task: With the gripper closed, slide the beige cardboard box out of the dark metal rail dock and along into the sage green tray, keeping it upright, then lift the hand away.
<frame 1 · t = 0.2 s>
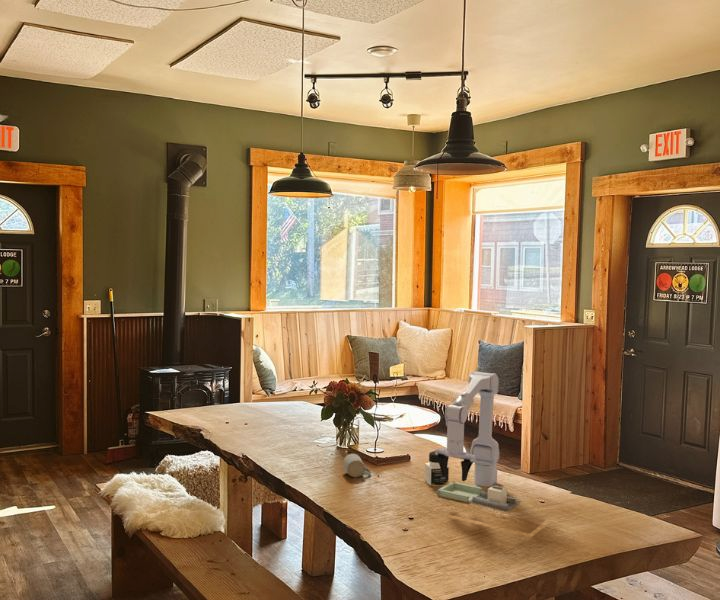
hand: (454, 478, 260), 10 cm above the table, tool pointing down, fingers open, 7 cm apart
tray: (459, 496, 271), on the table
dock: (494, 504, 263), on the table
ceramic mug: (357, 475, 295), on the table
beige cardboard box: (496, 502, 263), point 1 cm above the table, touching dock
medicine bottle: (436, 483, 287), on the table
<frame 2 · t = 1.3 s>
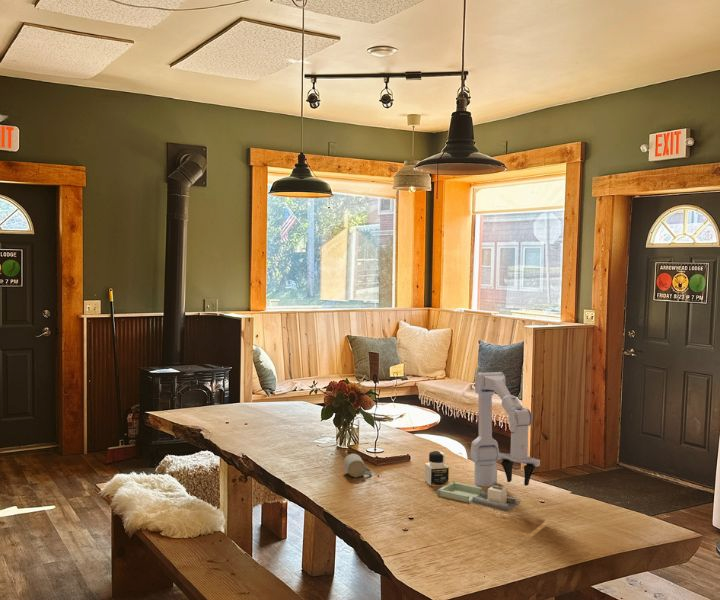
hand: (517, 483, 258), 9 cm above the table, tool pointing down, fingers open, 6 cm apart
nothing on the table moved.
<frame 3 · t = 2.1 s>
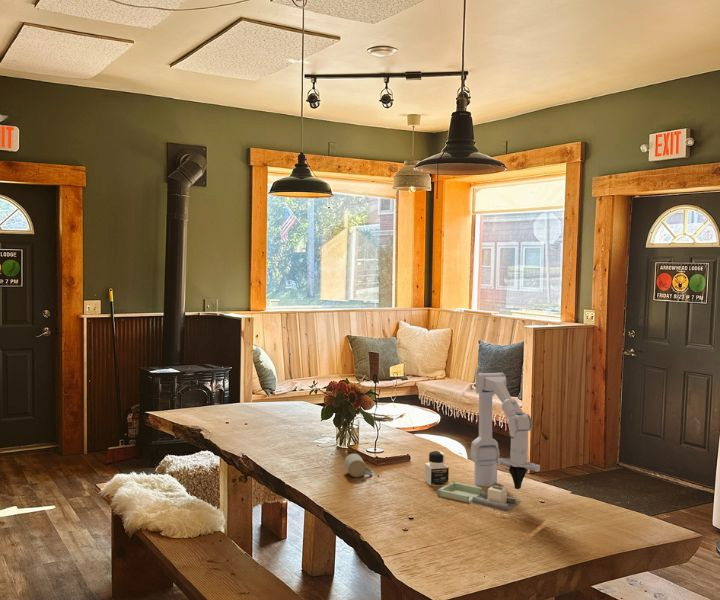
hand: (517, 488, 258), 8 cm above the table, tool pointing down, fingers closed
nothing on the table moved.
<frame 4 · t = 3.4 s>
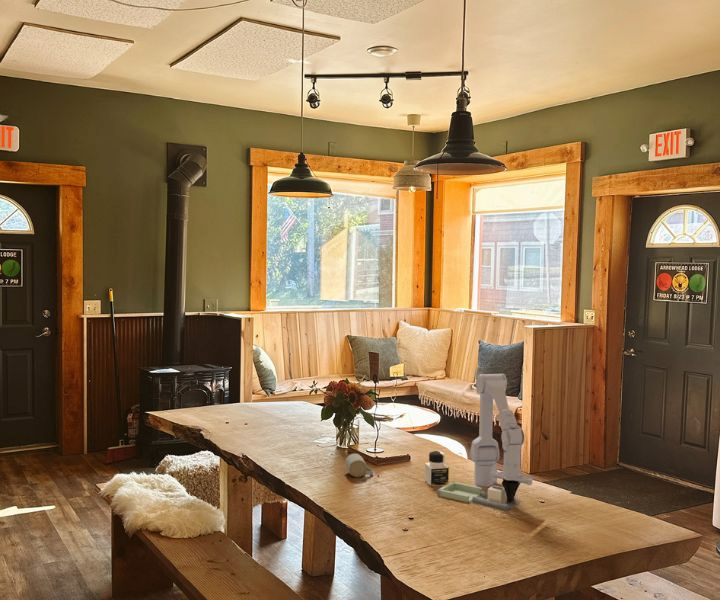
hand: (510, 501, 260), 2 cm above the table, tool pointing down, fingers closed
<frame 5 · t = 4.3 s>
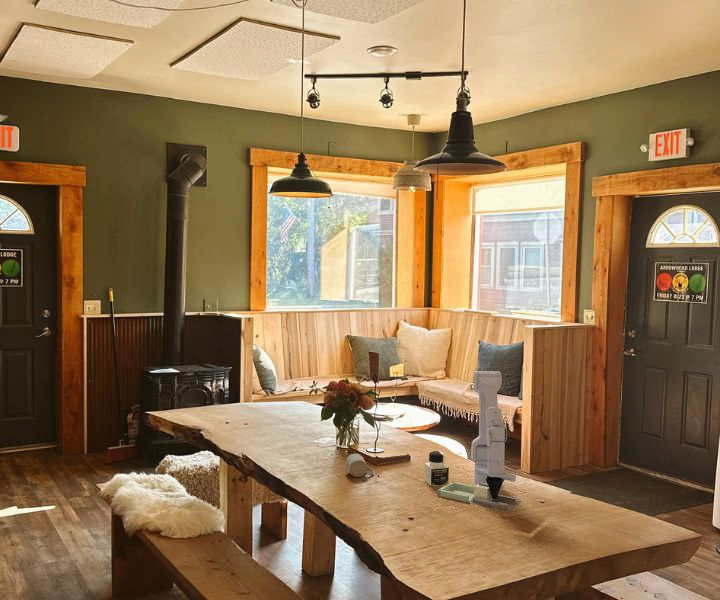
hand: (494, 497, 263), 2 cm above the table, tool pointing down, fingers closed
beige cardboard box: (483, 499, 266), point 1 cm above the table, touching gripper
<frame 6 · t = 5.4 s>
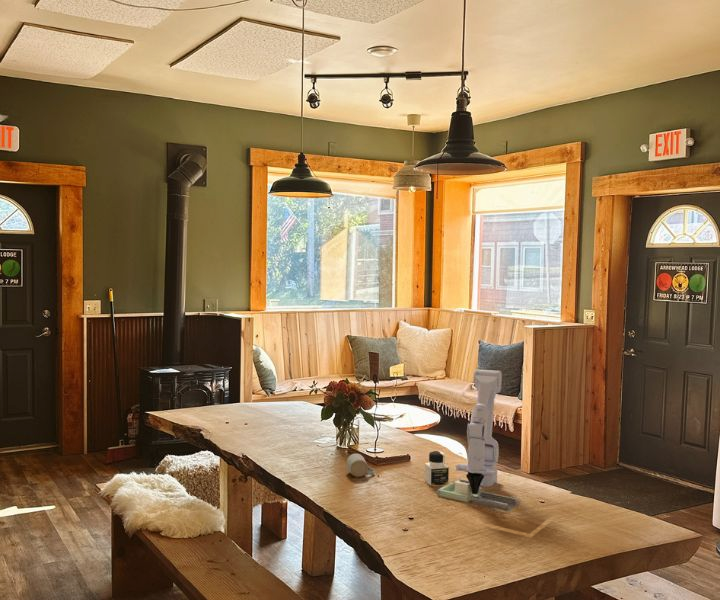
hand: (475, 493, 267), 2 cm above the table, tool pointing down, fingers closed
beige cardboard box: (463, 495, 270), point 1 cm above the table, touching gripper, tray
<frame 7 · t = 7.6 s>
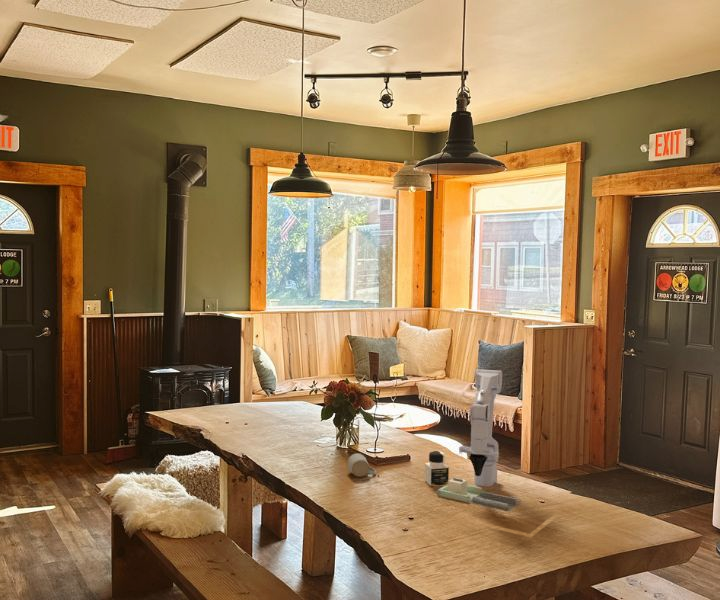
hand: (478, 475, 266), 9 cm above the table, tool pointing down, fingers closed
beige cardboard box: (457, 494, 271), point 1 cm above the table, touching tray
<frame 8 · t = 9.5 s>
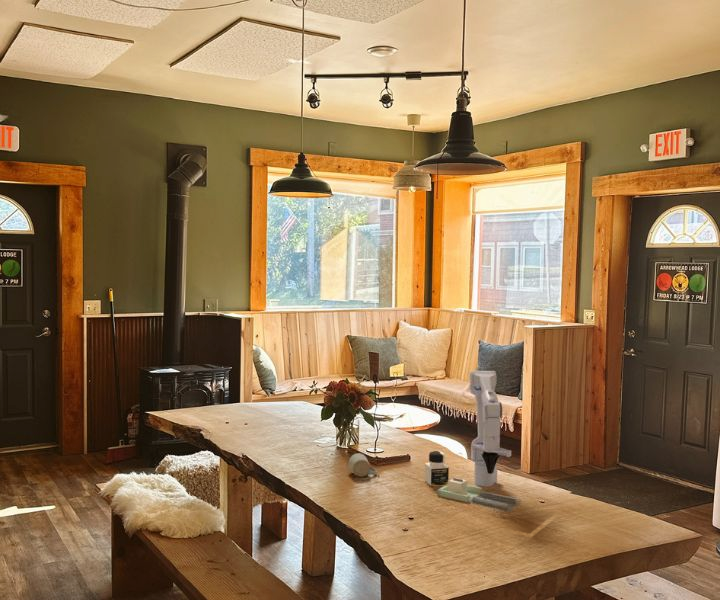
hand: (490, 473, 269), 9 cm above the table, tool pointing down, fingers closed
at the end: beige cardboard box 0.6 cm off-centre on the tray, point 1.0 cm above the tray's base; beige cardboard box tilted 0°; beige cardboard box moved 15.2 cm from its start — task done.
